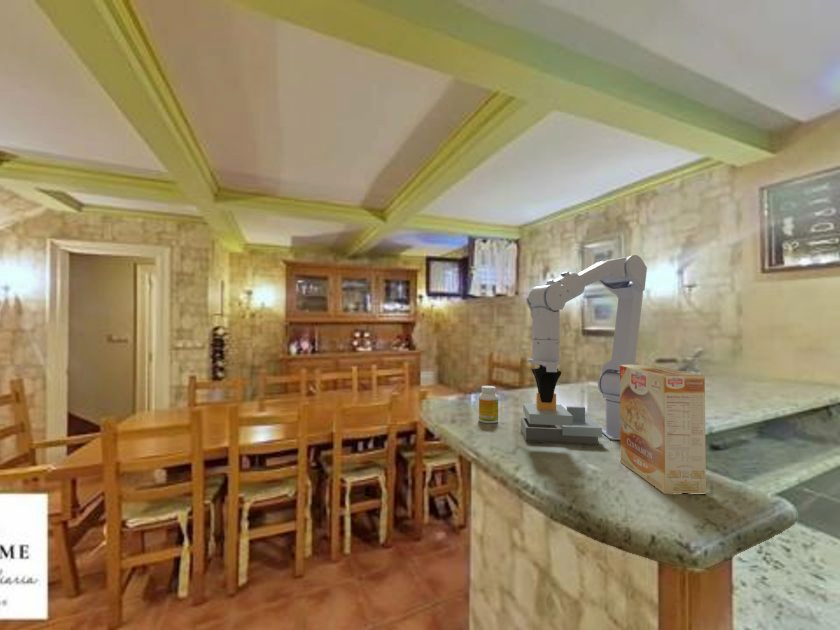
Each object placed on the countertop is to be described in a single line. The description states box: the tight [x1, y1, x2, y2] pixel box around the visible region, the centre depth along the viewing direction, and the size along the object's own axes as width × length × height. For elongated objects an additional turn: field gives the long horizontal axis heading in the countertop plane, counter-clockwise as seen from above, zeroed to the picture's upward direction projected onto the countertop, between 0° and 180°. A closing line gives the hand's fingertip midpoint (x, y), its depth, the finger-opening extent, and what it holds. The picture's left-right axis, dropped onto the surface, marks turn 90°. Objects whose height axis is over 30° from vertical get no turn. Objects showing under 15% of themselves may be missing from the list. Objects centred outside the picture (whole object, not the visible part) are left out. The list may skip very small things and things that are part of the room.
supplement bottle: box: [478, 385, 499, 424], centre depth 110 cm, size 5×5×10 cm
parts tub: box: [520, 417, 599, 446], centre depth 95 cm, size 16×10×3 cm, turn 82°
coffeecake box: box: [619, 364, 707, 495], centre depth 70 cm, size 15×7×20 cm, turn 178°
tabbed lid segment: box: [522, 392, 573, 426], centre depth 85 cm, size 8×11×5 cm
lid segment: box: [559, 405, 603, 438], centre depth 94 cm, size 9×11×5 cm
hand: (545, 401), depth 85 cm, fingers closed on tabbed lid segment
